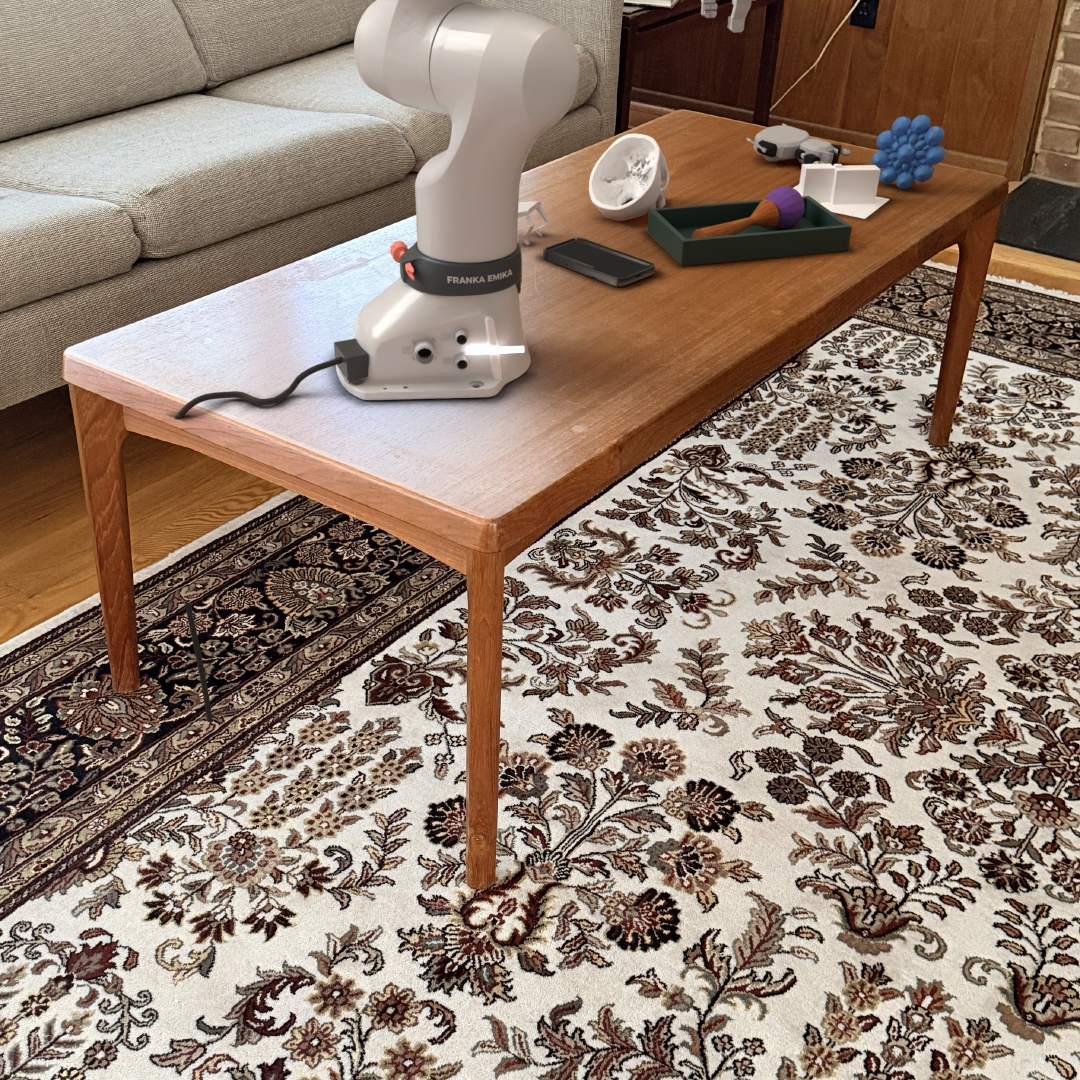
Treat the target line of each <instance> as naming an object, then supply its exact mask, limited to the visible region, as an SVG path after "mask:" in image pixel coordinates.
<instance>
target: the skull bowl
mask: <svg viewBox="0 0 1080 1080" xmlns="http://www.w3.org/2000/svg"><path fill="white" fill-rule="evenodd" d="M670 175H671V174H670V172H669V169H668V165H667V159H666V157H665V155H664V154H663V151H662V150H661V147H660V146H659V144H658V142H657V141H656V140H655V139H654V138H653V137H652V136H650V135H647V134H641V133H628V134H625V135H623V136H621V137H619V138H617V139H616V140H614V141H613V142H612V144H611V145H610V146H609V147H608V148H607V149H606V151H604V153H602V155H601V156H600V157H599V159H598V160H597V161H596V163H595V164H594V166H593V168H592V170H591V172H590V176H589V180H588V181H589V182H588V194H589V197H590V200H591V203H592V204H593V205H594V207H595V208H596V209H597V211H598V212H599V213H601V214H602V216H603V217H605V218H607V219H610V220H612V221H617V222H623V221H629V220H632V219H637V218H639V217H642V216H644V215H649V209H655V208H665V206H666V198H665V196H664V193H665V192H666V190H667V188H668V187H669V183H670V180H671V176H670ZM664 180H666V181H665V184H664ZM629 200H630V201H629ZM627 201H628V202H627Z"/></svg>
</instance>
